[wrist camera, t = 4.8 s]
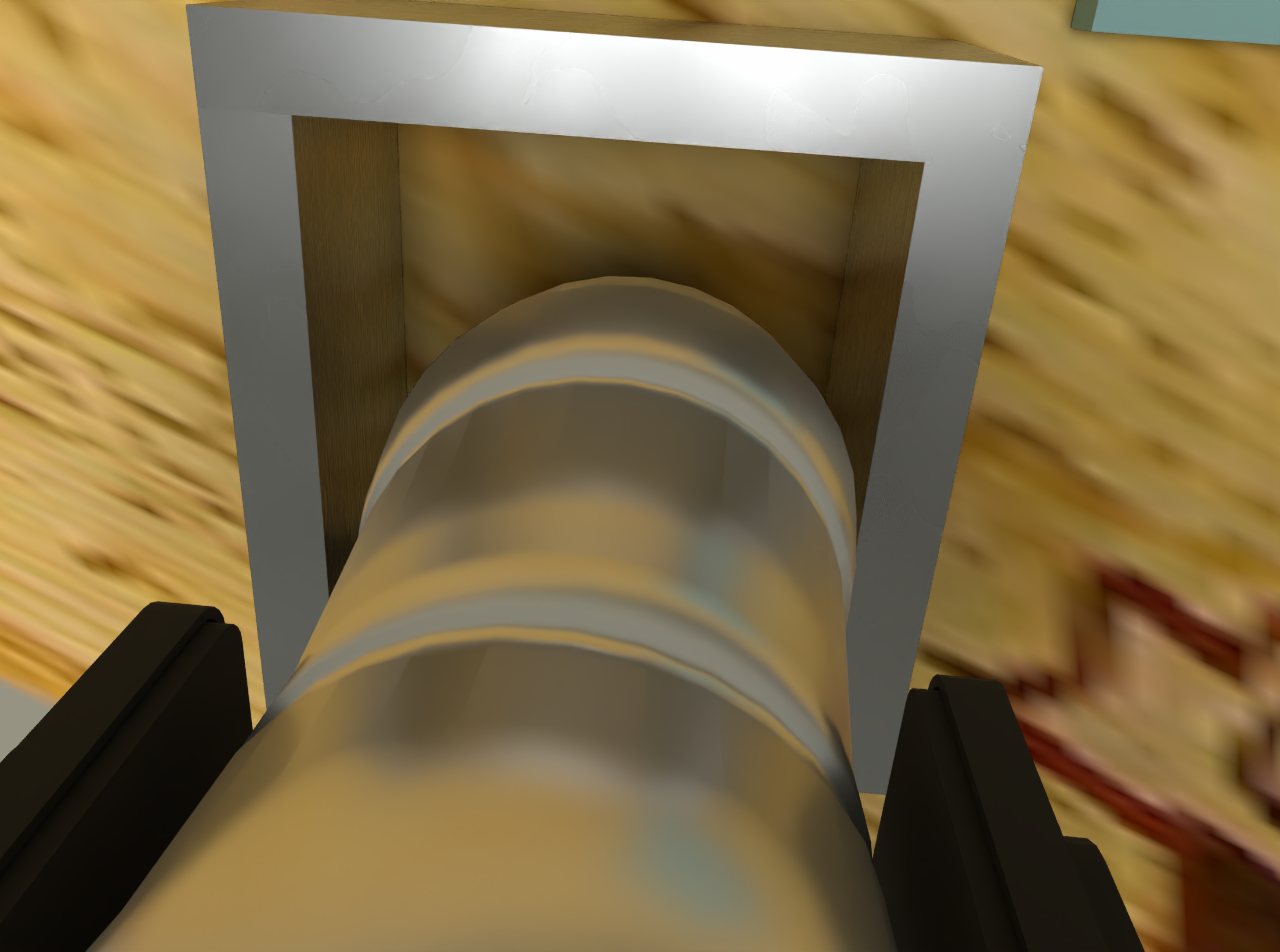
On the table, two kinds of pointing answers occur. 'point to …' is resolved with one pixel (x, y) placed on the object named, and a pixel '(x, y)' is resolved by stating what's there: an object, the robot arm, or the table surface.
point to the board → (1183, 19)
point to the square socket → (613, 109)
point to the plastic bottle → (563, 668)
